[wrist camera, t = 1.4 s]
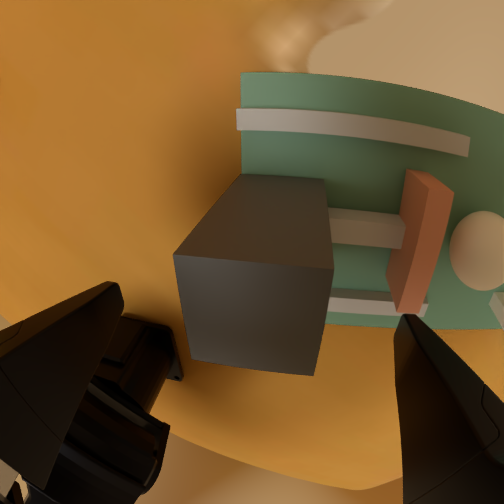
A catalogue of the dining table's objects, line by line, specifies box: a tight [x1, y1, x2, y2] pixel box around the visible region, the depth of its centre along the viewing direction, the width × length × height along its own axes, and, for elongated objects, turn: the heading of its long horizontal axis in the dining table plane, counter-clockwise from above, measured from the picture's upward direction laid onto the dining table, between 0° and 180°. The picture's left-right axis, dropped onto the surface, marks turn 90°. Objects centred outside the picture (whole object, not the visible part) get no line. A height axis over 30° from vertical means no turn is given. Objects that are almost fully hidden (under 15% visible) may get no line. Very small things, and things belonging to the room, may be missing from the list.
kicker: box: [173, 169, 454, 376], centre depth 11 cm, size 6×9×8 cm, turn 90°
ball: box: [449, 211, 504, 291], centre depth 12 cm, size 4×4×4 cm
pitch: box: [236, 72, 504, 330], centre depth 13 cm, size 14×24×4 cm, turn 90°
